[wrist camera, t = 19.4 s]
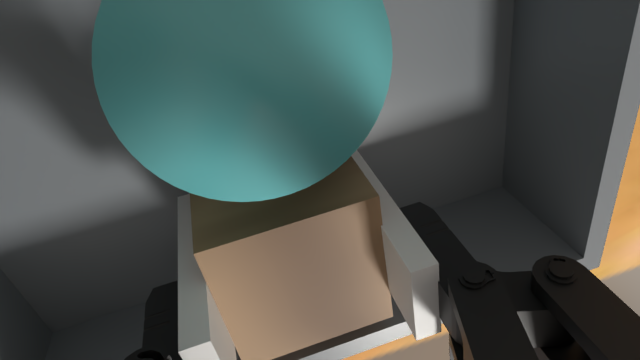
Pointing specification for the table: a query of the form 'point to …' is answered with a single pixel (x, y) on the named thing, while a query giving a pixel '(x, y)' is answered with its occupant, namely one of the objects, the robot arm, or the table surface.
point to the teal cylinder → (242, 88)
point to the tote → (377, 150)
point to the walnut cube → (295, 263)
